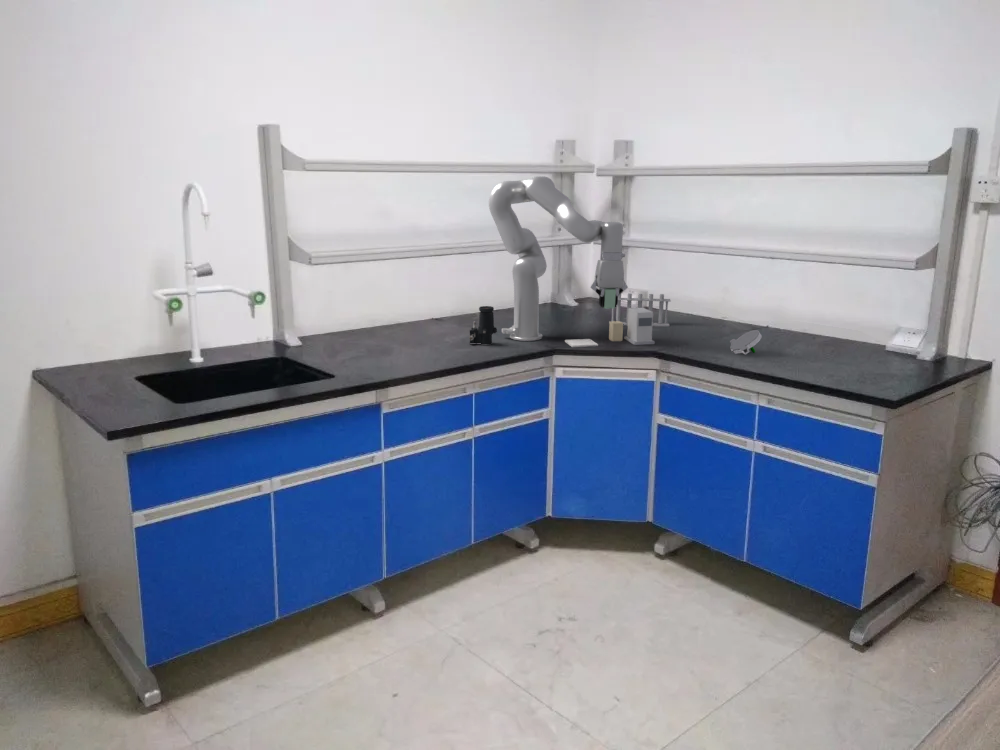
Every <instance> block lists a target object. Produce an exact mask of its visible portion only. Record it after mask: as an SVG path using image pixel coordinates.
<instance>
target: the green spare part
mask: <svg viewBox="0 0 1000 750" xmlns="http://www.w3.org/2000/svg"><path fill="white" fill-rule="evenodd" d="M604 297H605V302H604V307H601V308H602V309H605V310H606V309H607V310H608V309H611V310H612V308H614V309H616V307H615V297H616V289H614V288H605V292H604Z"/></svg>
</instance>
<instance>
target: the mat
mask: <svg viewBox="0 0 1000 750" xmlns="http://www.w3.org/2000/svg"><path fill="white" fill-rule="evenodd" d="M564 342H565V343H566V344H567V345H569V346H570V347H571V348H584V347H585V348H587V347H599V344H598V343H597V342H595V341H594V340H592V339H591V338H583V339H581V338H580V339H579V338H578V339H565V340H564Z"/></svg>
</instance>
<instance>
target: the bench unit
mask: <svg viewBox="0 0 1000 750" xmlns="http://www.w3.org/2000/svg"><path fill="white" fill-rule="evenodd" d="M653 320H654V311H652V312H651V311H649V310H648V308H644V307H642V308H638V307H631V308H628V325H627V331H626V332H627V334H626V335H624V336H623V337H624V338H623V340H626V341H627V342H629V343H631V344H632V345H634V346H636V345H637V346H638V345H641V346H642V345H644V346H645V345H655V343H656V342H655V340H653V339H652V338H653V327H654V326H653V323H654V321H653Z"/></svg>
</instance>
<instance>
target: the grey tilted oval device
mask: <svg viewBox="0 0 1000 750" xmlns="http://www.w3.org/2000/svg"><path fill="white" fill-rule="evenodd" d="M762 337H763V336H762V334H761V332H760V331H759V330H758V329H753V330H749V331H747V332H745V333H743V334H742V335H740V336H739V337H738V338H736V339H735V338H732V339H731V340H729V343H730V347H729V349H730V350H731V352H732V351H733V352H732V353H734V355H738V354H744V355H747V354H748V353H752V352H753V354H755V353H756V350H755V349H756V348H754V346H755V345H757V344H758V343H759V342H760V341H761V339H762ZM750 351H751V352H750Z"/></svg>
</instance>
